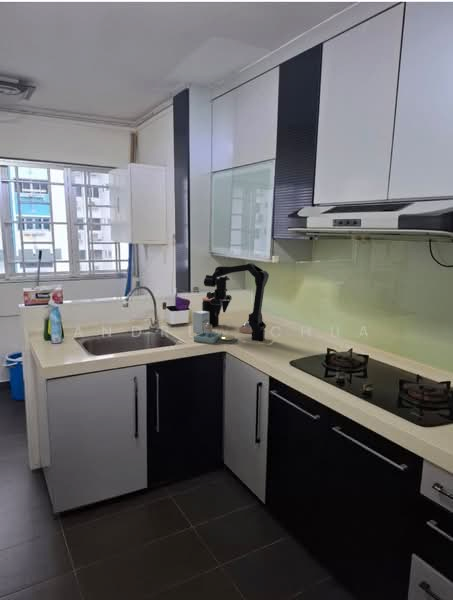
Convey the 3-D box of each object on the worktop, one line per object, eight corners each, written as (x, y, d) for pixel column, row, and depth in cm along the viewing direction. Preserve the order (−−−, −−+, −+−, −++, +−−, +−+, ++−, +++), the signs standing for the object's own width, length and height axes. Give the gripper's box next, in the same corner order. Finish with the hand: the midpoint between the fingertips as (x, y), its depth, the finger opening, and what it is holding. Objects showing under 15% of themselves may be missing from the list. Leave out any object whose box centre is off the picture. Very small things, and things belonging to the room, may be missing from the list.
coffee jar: (218, 327, 256) (218, 299, 253) (201, 327, 256) (201, 299, 253) (218, 323, 267) (219, 297, 264) (202, 323, 267) (202, 297, 264)
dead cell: (250, 331, 245) (251, 322, 244) (248, 332, 241) (248, 323, 240) (244, 330, 246) (244, 321, 245) (242, 332, 243) (242, 323, 242)
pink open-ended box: (254, 331, 246) (254, 325, 245) (250, 334, 239) (250, 328, 239) (243, 330, 248) (243, 324, 248) (239, 333, 242) (239, 326, 241)
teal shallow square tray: (221, 338, 230) (221, 333, 229) (213, 343, 219) (213, 338, 218) (203, 336, 234) (203, 331, 234) (193, 341, 223) (193, 336, 223)
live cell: (213, 338, 227) (213, 323, 226) (210, 340, 223) (210, 325, 222) (206, 337, 229) (206, 322, 227) (202, 339, 225) (202, 324, 223)
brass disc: (236, 337, 226) (236, 335, 226) (231, 341, 218) (231, 339, 218) (223, 335, 229) (223, 334, 229) (217, 339, 222) (217, 337, 221)
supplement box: (201, 334, 239) (201, 313, 237) (192, 332, 244) (192, 312, 242) (209, 331, 245) (209, 311, 243) (200, 330, 249) (200, 310, 247)
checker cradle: (237, 340, 227) (237, 337, 226) (231, 344, 218) (231, 341, 218) (223, 338, 230) (223, 335, 230) (216, 342, 222) (216, 339, 221)
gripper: (215, 284, 244) (215, 309, 247) (201, 288, 227) (201, 315, 230) (232, 285, 240) (231, 311, 242) (219, 290, 223) (219, 317, 225)
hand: (221, 313), depth 235 cm, fingers open, 9 cm apart
